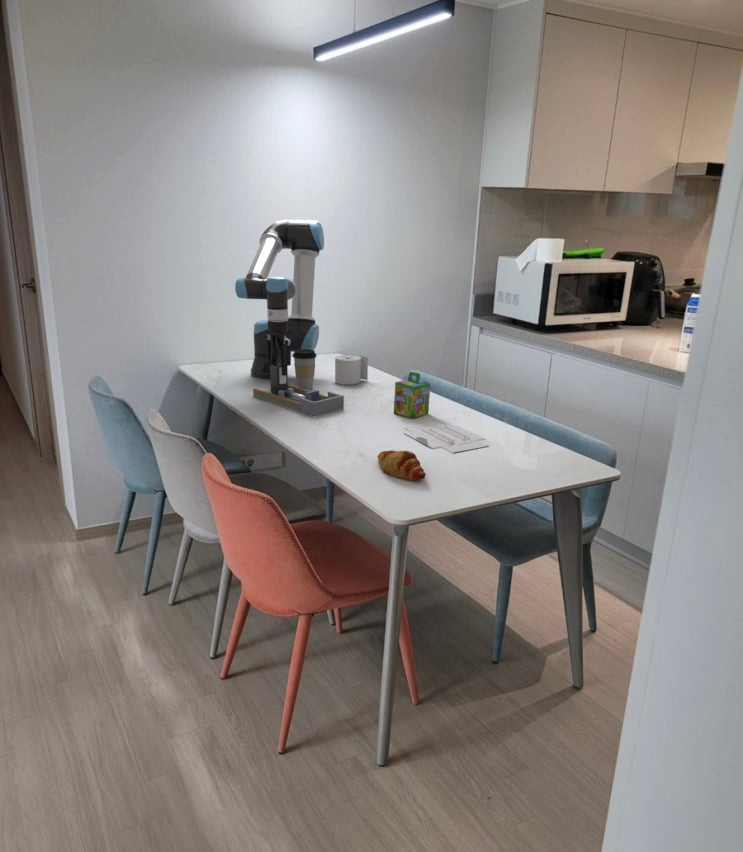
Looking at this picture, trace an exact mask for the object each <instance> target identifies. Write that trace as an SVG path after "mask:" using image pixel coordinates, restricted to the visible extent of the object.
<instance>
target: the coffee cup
mask: <svg viewBox="0 0 743 852" xmlns="http://www.w3.org/2000/svg"><path fill="white" fill-rule="evenodd" d="M291 358H293V360H294V361H293V362H294V363H293V364H294V374H295V377H296V387H299V388H302V389H305V390H309V391H312V390H313V386H314V377H315V371H316V358H317V353H316V351H315V349H314V350H310V349H299V350H295V351H294V352H293V353H292V355H291Z"/></svg>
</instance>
